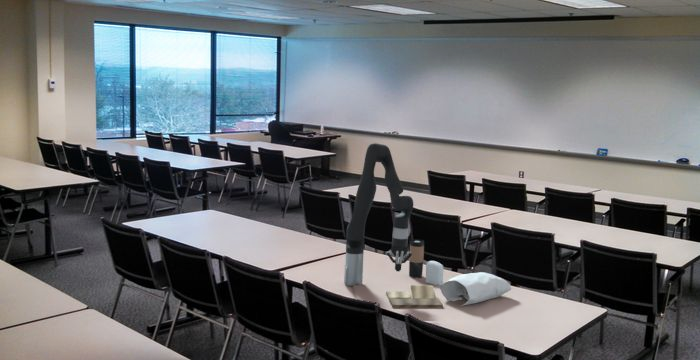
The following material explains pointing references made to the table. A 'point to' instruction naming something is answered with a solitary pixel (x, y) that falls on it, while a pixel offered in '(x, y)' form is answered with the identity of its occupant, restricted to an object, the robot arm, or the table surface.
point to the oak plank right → (423, 291)
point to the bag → (474, 287)
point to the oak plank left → (397, 295)
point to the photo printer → (434, 273)
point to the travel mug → (416, 258)
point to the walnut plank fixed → (415, 303)
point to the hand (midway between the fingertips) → (397, 270)
